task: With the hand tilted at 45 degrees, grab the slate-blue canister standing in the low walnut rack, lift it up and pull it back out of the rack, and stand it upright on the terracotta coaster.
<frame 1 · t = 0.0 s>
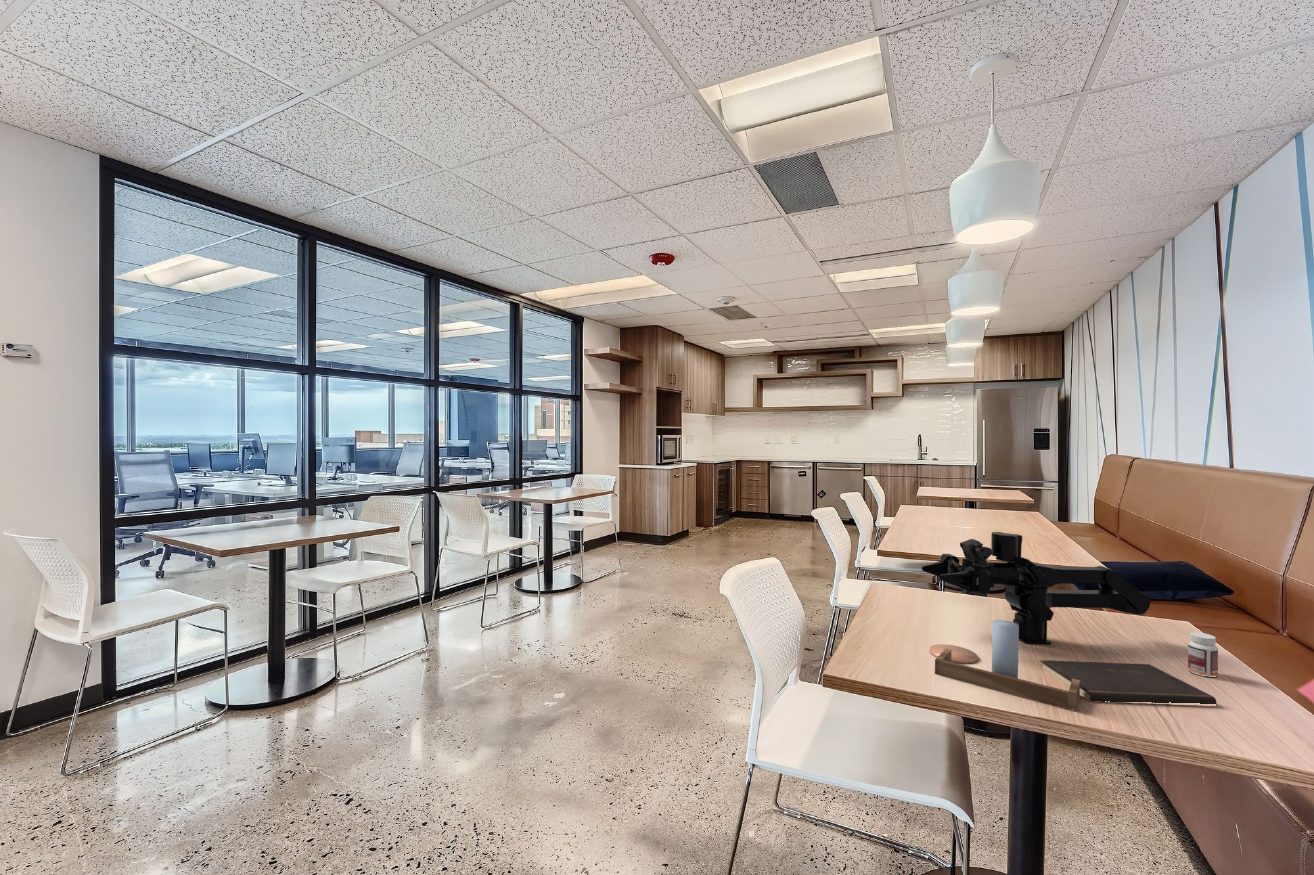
hand: (930, 572, 142), 17 cm above the table, tool horizontal, fingers open, 9 cm apart
pill bottle: (1202, 674, 123), on the table
hardcover book: (1121, 689, 116), on the table
terracotta coaster: (953, 654, 131), on the table
walnut rack: (1004, 683, 116), on the table
blue canister: (1005, 653, 116), in the walnut rack
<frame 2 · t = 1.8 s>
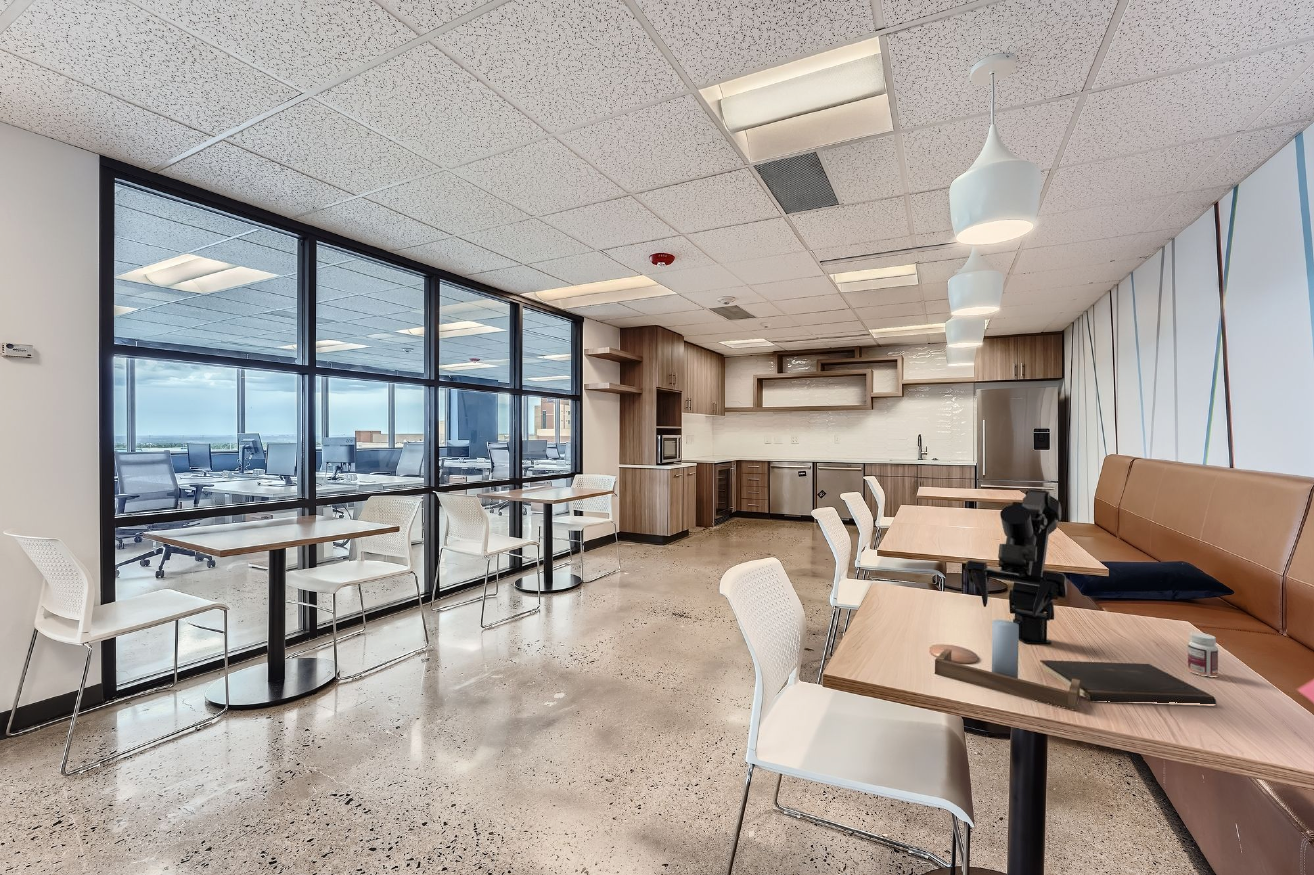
hand: (1008, 610, 121), 14 cm above the table, tool tilted 45°, fingers open, 9 cm apart
nothing on the table moved.
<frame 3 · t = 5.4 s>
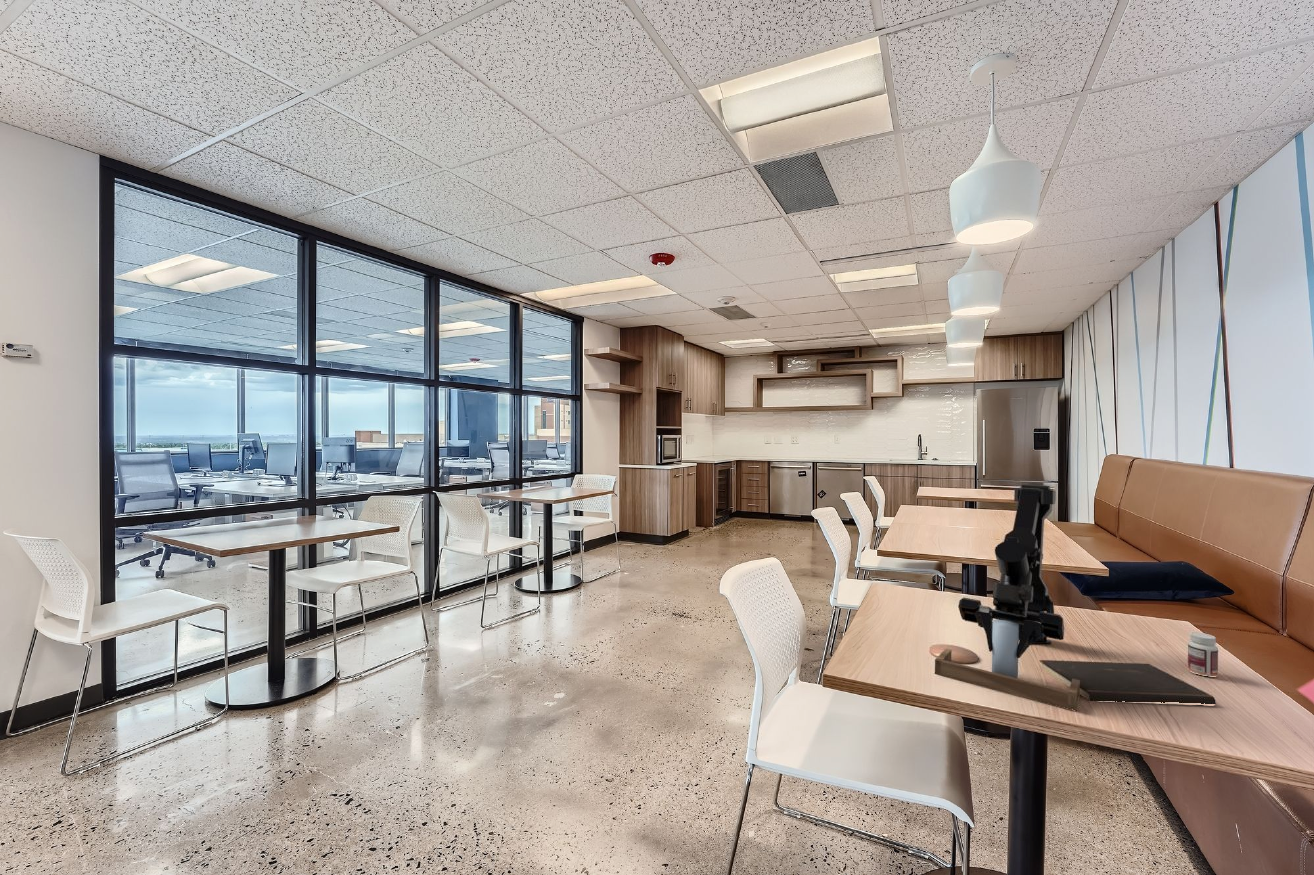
hand: (1003, 653, 115), 7 cm above the table, tool tilted 45°, fingers closed on blue canister, 5 cm apart
blue canister: (1005, 653, 116), in the walnut rack, touching gripper
everything else where it was.
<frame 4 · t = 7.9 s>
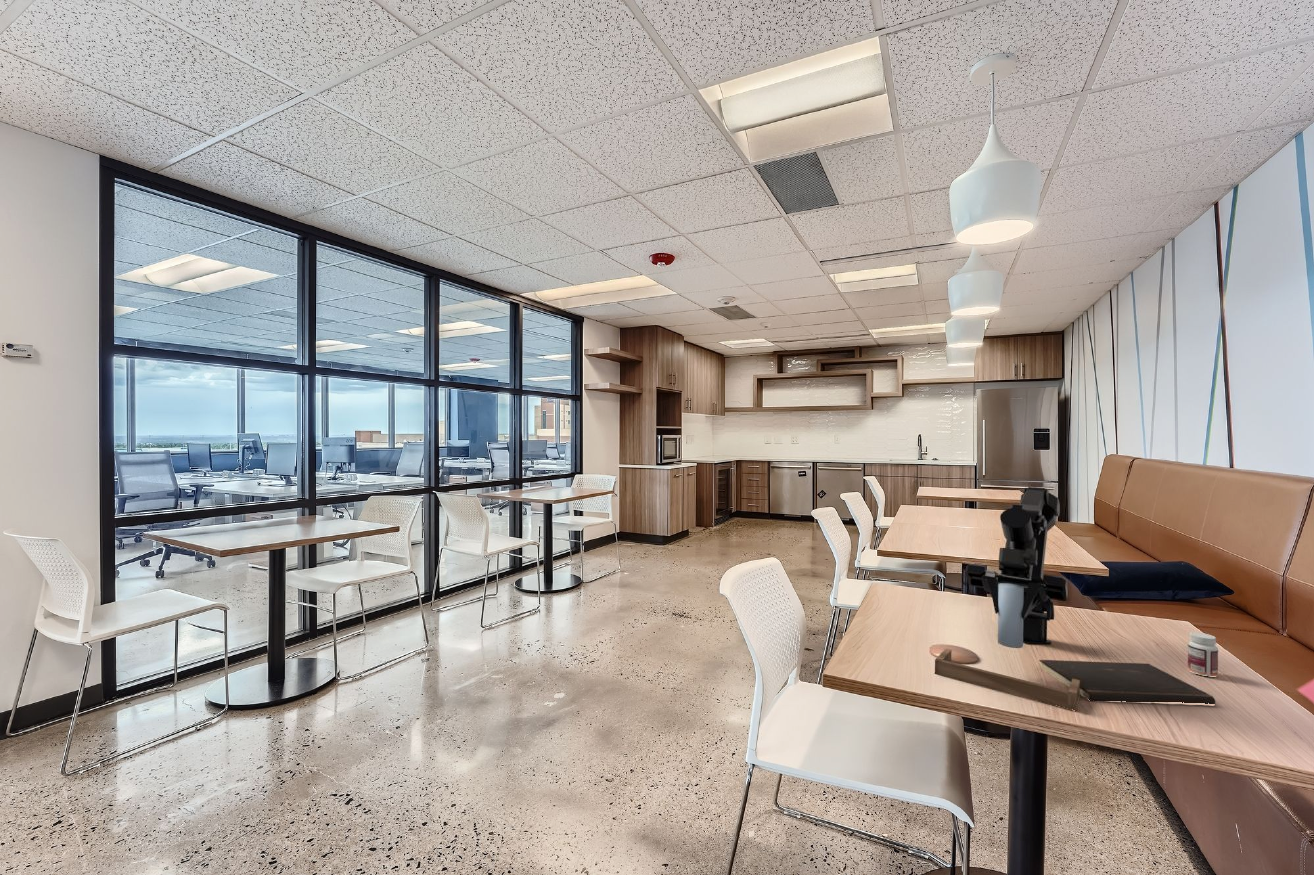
hand: (1009, 615, 120), 13 cm above the table, tool tilted 45°, fingers closed on blue canister, 5 cm apart
blue canister: (1010, 615, 121), point 13 cm above the table, touching gripper
everything else where it was.
when the fingers open (9 cm above the table, at t = 10.8 s): blue canister drops 1 cm, resting on terracotta coaster.
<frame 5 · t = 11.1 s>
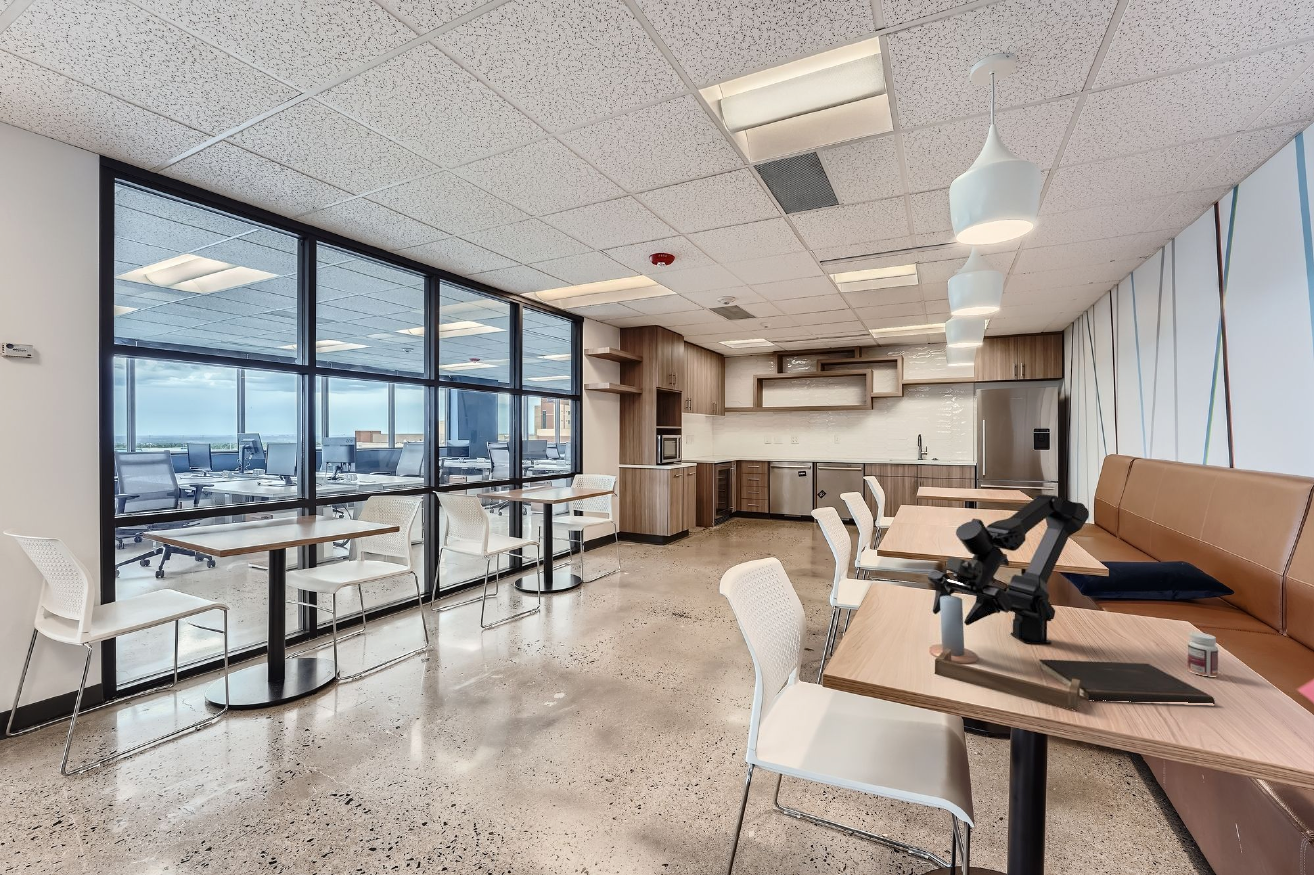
hand: (949, 618, 131), 9 cm above the table, tool tilted 45°, fingers open, 8 cm apart
blue canister: (952, 625, 131), on the terracotta coaster, point 7 cm above the table
everything else where it was.
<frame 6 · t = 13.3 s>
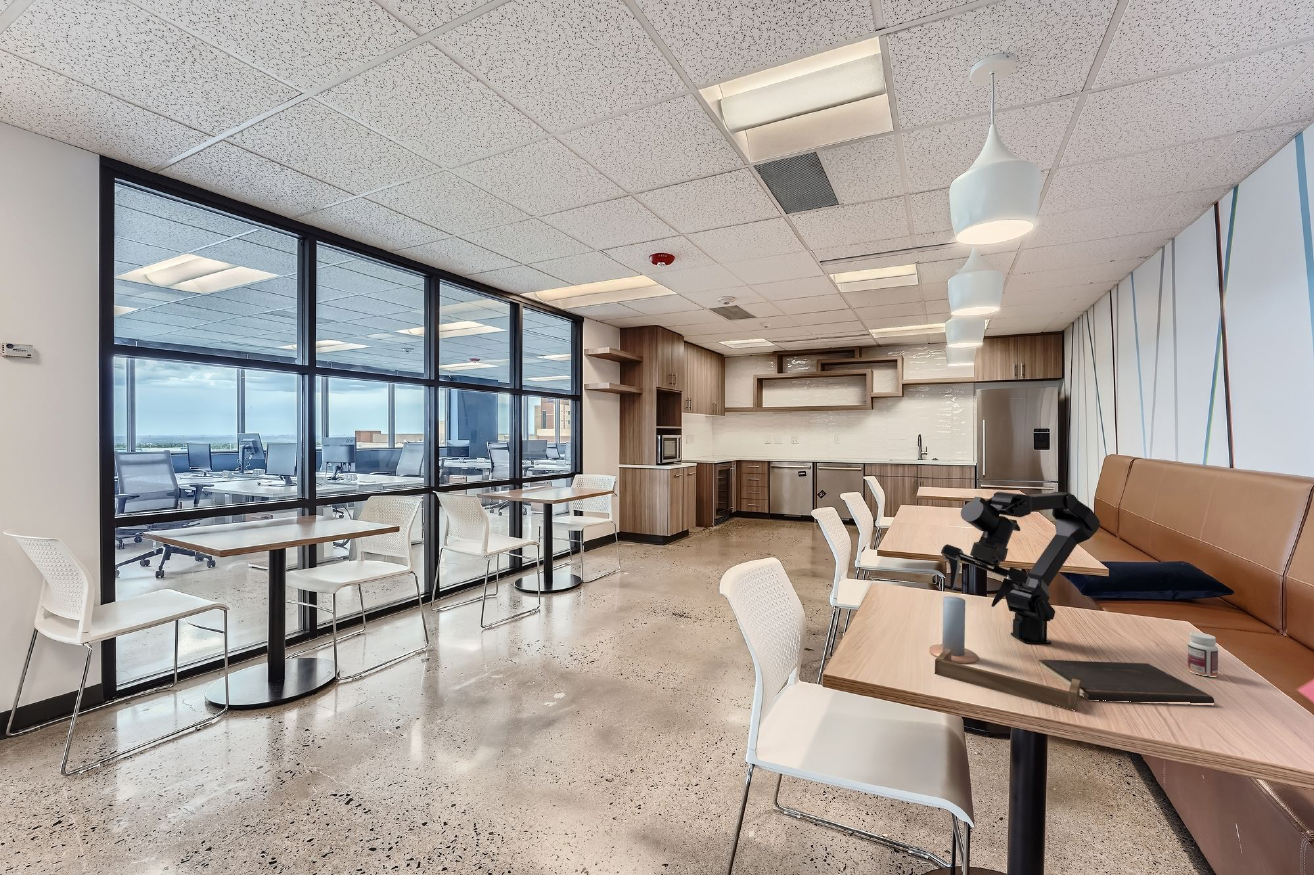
hand: (971, 598, 135), 12 cm above the table, tool tilted 30°, fingers open, 9 cm apart
nothing on the table moved.
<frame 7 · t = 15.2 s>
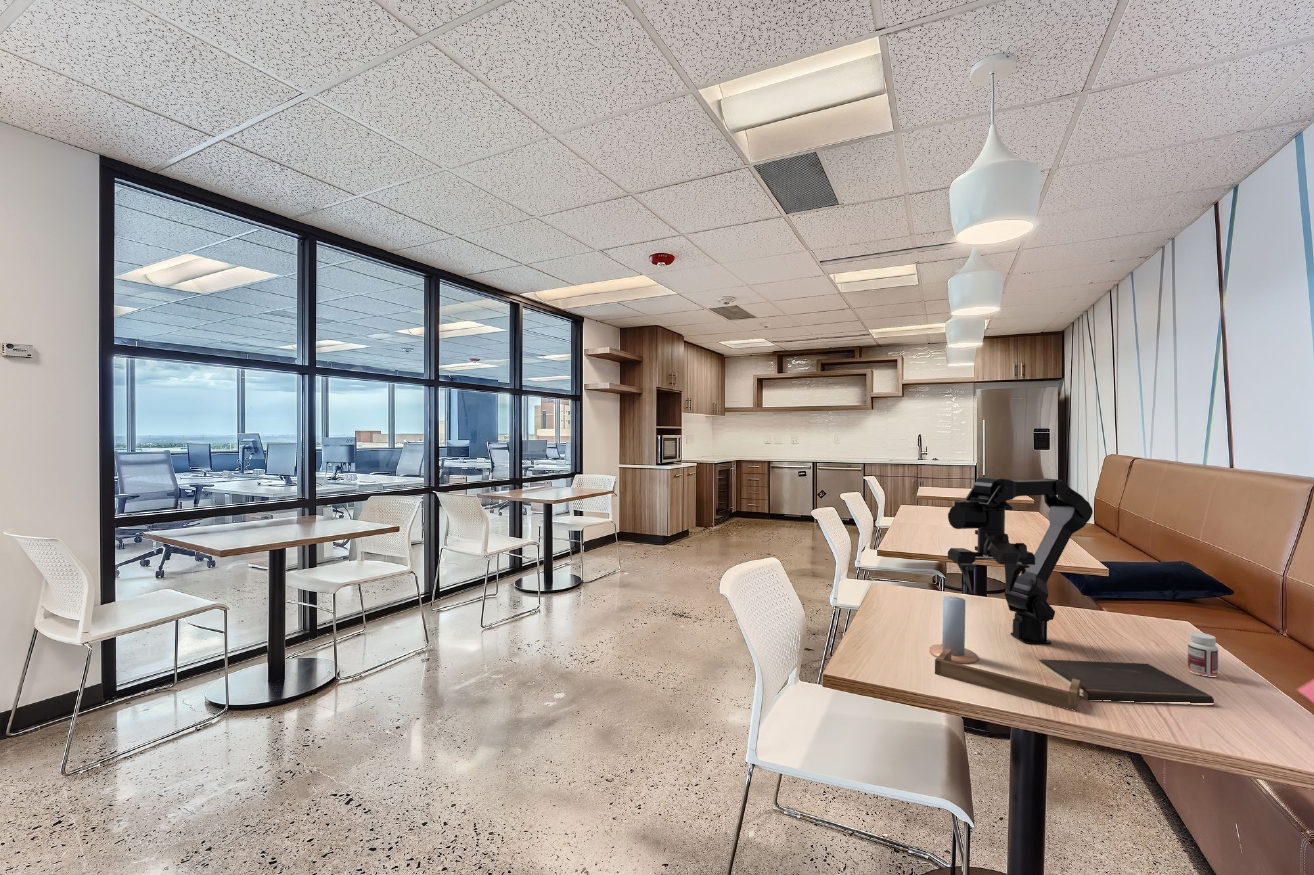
hand: (990, 590, 139), 13 cm above the table, tool pointing down, fingers open, 9 cm apart
nothing on the table moved.
at the end: blue canister 0.0 cm off-centre on the terracotta coaster, point 6.9 cm above the terracotta coaster's base; blue canister tilted 0°; the gripper is holding nothing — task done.
